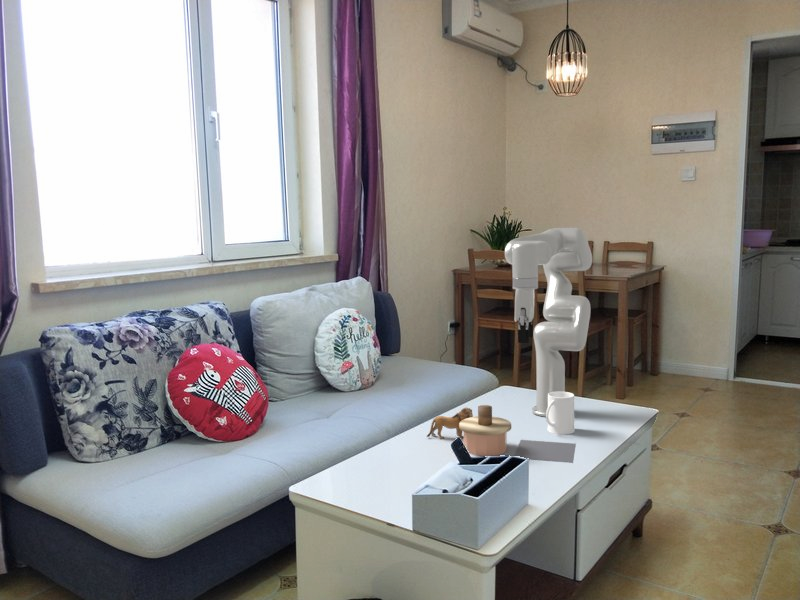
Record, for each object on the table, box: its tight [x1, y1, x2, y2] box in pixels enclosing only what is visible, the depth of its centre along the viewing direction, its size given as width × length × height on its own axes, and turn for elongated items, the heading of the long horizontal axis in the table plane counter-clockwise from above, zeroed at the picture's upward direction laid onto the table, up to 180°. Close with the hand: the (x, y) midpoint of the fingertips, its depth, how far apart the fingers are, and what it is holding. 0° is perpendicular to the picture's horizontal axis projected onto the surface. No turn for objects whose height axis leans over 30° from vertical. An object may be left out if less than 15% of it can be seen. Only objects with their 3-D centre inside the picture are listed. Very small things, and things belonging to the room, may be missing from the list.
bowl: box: [463, 431, 508, 457], centre depth 196 cm, size 12×12×7 cm
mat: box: [513, 439, 576, 464], centre depth 193 cm, size 16×16×1 cm
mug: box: [545, 391, 576, 435], centre depth 210 cm, size 12×8×12 cm
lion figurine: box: [426, 407, 474, 440], centre depth 209 cm, size 15×5×9 cm, turn 97°
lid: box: [459, 404, 512, 435], centre depth 195 cm, size 15×15×6 cm
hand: (525, 339), depth 204 cm, fingers open, 9 cm apart
